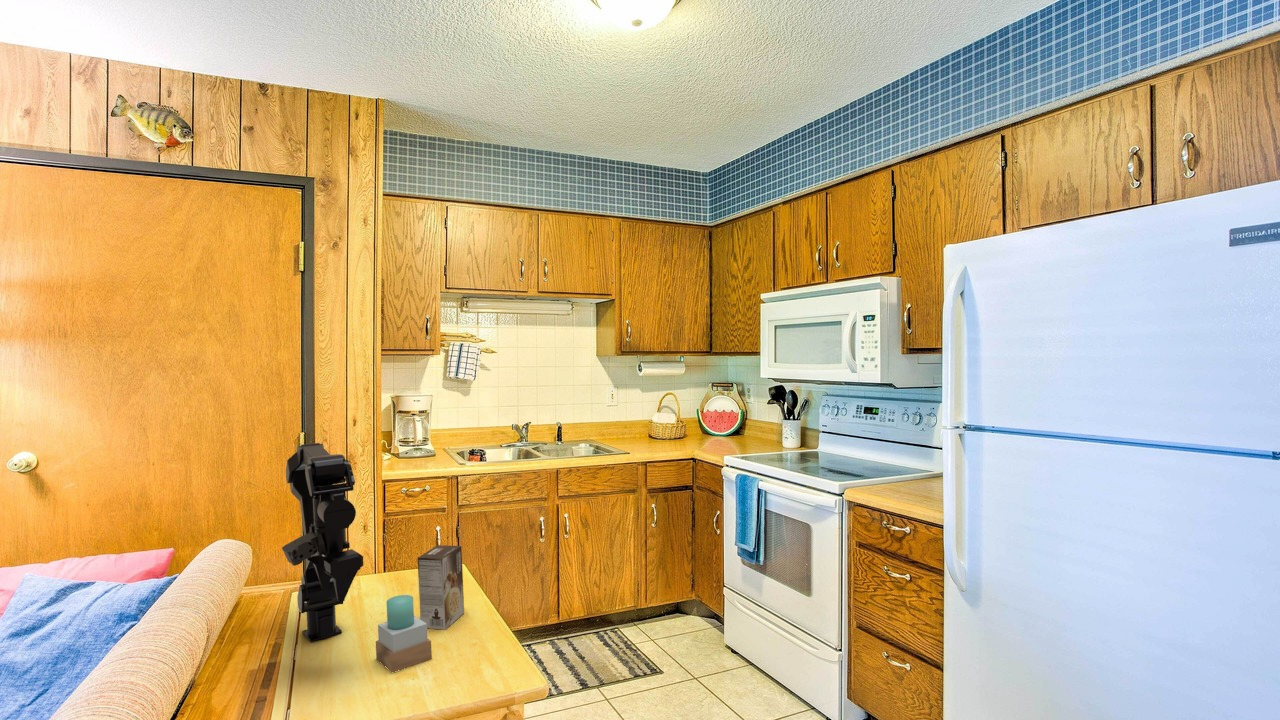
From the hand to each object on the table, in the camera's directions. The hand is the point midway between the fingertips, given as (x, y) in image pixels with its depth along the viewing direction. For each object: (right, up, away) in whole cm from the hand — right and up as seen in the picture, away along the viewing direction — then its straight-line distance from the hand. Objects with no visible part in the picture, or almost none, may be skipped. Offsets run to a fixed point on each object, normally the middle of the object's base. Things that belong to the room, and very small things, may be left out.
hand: (332, 595), depth 136 cm
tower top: (+15, -9, -1) cm, 17 cm away
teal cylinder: (+14, -5, -1) cm, 15 cm away
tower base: (+15, -13, -1) cm, 20 cm away
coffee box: (+17, -12, +17) cm, 27 cm away
